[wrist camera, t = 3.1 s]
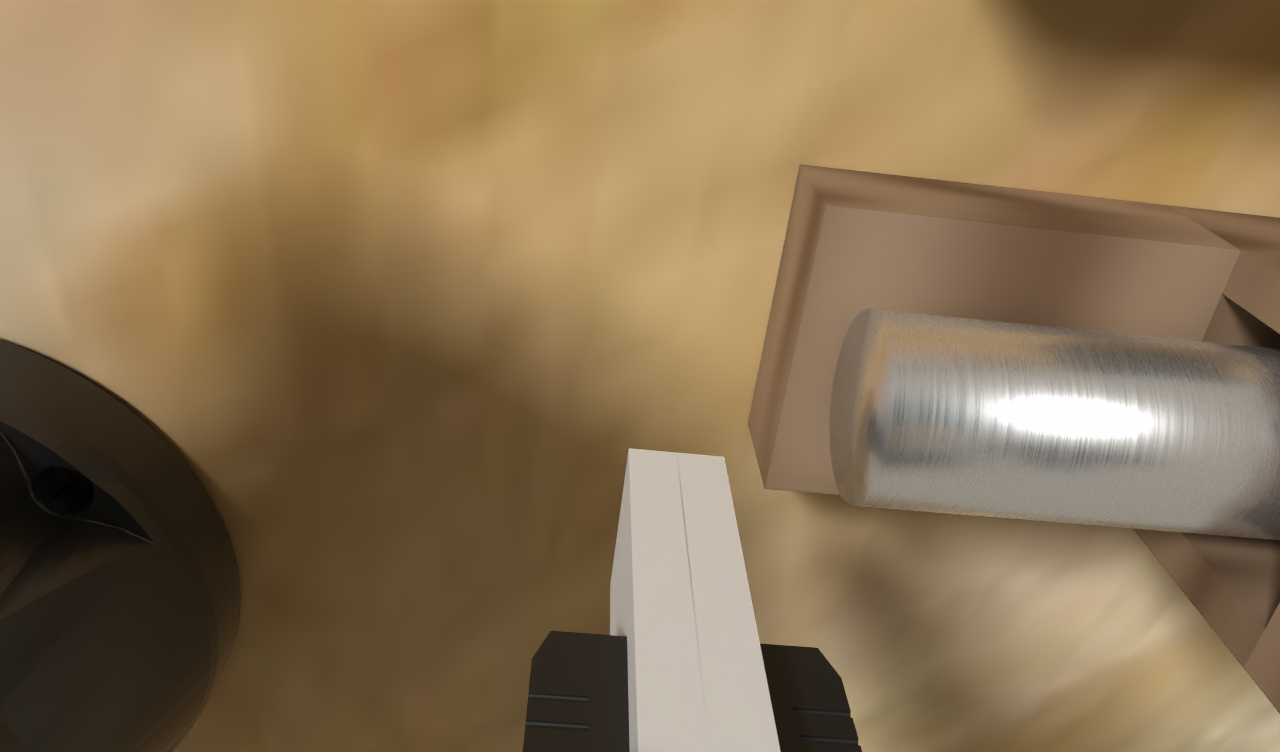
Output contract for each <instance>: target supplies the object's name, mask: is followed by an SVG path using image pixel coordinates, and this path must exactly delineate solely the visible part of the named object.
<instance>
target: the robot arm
mask: <svg viewBox="0 0 1280 752" xmlns="http://www.w3.org/2000/svg"><path fill="white" fill-rule="evenodd" d="M239 615H240V582H239V575H238V568H237V564H236V560H235V555H234V551H233V548H232V545H231V542H230V539H229V536H228V534H227V532H226V529H225V527H224V525H223V522H222V520H221V518H220V516H219V514H218V512H217V510H216V508H215V506H214V504H213V503H212V501H211V499H210V498H209V496H208V495H207V493H206V491H205V490H204V488H203V487H202V485H201V484H200V482H199V481H198V480H197V478H196V477H195V475H194V474H193V473H192V471H191V470H190V469H189V468H188V466H187V465H186V464H185V463H184V462H183V460H182V459H181V458H180V457H179V456H178V454H177V453H176V452H175V451H174V450H173V449H172V448H171V447H170V446H169V445H168V444H167V443H166V442H165V441H164V440H163V439H162V438H161V437H160V436H159V435H158V434H157V433H156V432H155V431H154V430H153V429H152V428H151V427H150V426H149V425H147V424H146V423H145V422H144V421H143V420H142V419H140V418H139V417H138V416H137V415H136V414H134V413H133V412H132V411H131V410H129V409H128V408H127V407H126V406H124V405H123V404H122V403H120V402H119V401H117V400H116V399H115V398H113V397H112V396H111V395H109V394H108V393H106V392H105V391H103V390H102V389H100V388H99V387H97V386H96V385H94V384H92V383H91V382H89V381H88V380H86V379H84V378H83V377H81V376H79V375H77V374H76V373H74V372H72V371H70V370H69V369H67V368H65V367H63V366H61V365H59V364H57V363H55V362H53V361H51V360H49V359H47V358H45V357H43V356H41V355H39V354H36V353H34V352H32V351H29V350H27V349H25V348H22V347H20V346H18V345H15V344H12V343H9V342H7V341H4V340H1V339H0V752H172V751H173V750H174V749H175V748H176V747H177V746H178V745H179V743H180V742H181V741H182V740H183V739H184V737H185V736H186V735H187V733H188V732H189V730H190V729H191V727H192V726H193V724H194V723H195V721H196V720H197V718H198V717H199V715H200V713H201V712H202V710H203V708H204V706H205V704H206V702H207V700H208V698H209V696H210V693H211V691H212V689H213V687H214V685H215V683H216V681H217V679H218V677H219V674H220V672H221V670H222V668H223V666H224V664H225V662H226V660H227V658H228V655H229V653H230V650H231V648H232V645H233V642H234V639H235V635H236V631H237V627H238V621H239ZM850 712H851V711H850V707H849V704H848V700H847V697H846V693H845V690H844V686H843V683H842V679H841V677H840V676H839V675H838V673H837V672H836V671H835V670H834V668H833V667H832V666H831V664H830V663H829V662H828V661H827V659H826V658H825V657H824V655H823V654H822V653H821V652H820V650H819V649H818V648H812V647H798V646H784V645H771V644H760V641H759V636H758V631H757V626H756V620H755V615H754V610H753V605H752V600H751V594H750V589H749V584H748V579H747V573H746V568H745V563H744V558H743V552H742V547H741V542H740V537H739V531H738V526H737V521H736V516H735V511H734V505H733V500H732V495H731V490H730V484H729V479H728V474H727V469H726V463H725V458H724V457H722V456H710V455H699V454H688V453H676V452H665V451H654V450H642V449H631V448H629V450H628V458H627V465H626V472H625V480H624V487H623V495H622V502H621V509H620V517H619V524H618V531H617V539H616V546H615V554H614V561H613V568H612V576H611V583H610V635H600V634H586V633H572V632H559V631H551V632H550V633H549V635H548V636H547V638H546V639H545V640H544V642H543V643H542V645H541V646H540V648H539V649H538V651H537V652H536V654H535V655H534V657H533V658H532V665H531V675H530V685H529V695H528V705H527V716H526V726H525V736H524V746H523V752H862V750H861V746H858V736H857V732H856V729H855V725H854V722H853V718H851V717H850Z"/></svg>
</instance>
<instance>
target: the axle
mask: <svg viewBox="0 0 1280 752" xmlns="http://www.w3.org/2000/svg"><path fill="white" fill-rule="evenodd" d="M829 431H830V454H831V463H832V469H833V474H834V479H835V482H836V485H837V488H838V491H839V493H840V495H841V497H842V498H843V500H844V501H845V502H846V503H847V504H849V505H851V506H862V507H875V508H887V509H899V510H912V511H924V512H937V513H949V514H961V515H974V516H986V517H999V518H1011V519H1023V520H1036V521H1048V522H1061V523H1073V524H1085V525H1098V526H1110V527H1123V528H1135V529H1148V530H1160V531H1172V532H1185V533H1197V534H1210V535H1222V536H1234V537H1247V538H1259V539H1272V540H1280V349H1272V348H1262V347H1252V346H1242V345H1232V344H1222V343H1211V342H1201V341H1191V340H1181V339H1171V338H1161V337H1151V336H1140V335H1130V334H1120V333H1110V332H1100V331H1090V330H1080V329H1069V328H1059V327H1049V326H1039V325H1029V324H1019V323H1009V322H999V321H988V320H978V319H968V318H958V317H948V316H938V315H928V314H917V313H907V312H897V311H887V310H877V309H866V310H864V311H862V312H861V313H860V314H858V315H857V317H856V318H855V319H854V321H853V322H852V324H851V326H850V328H849V330H848V332H847V334H846V337H845V339H844V342H843V345H842V348H841V351H840V354H839V358H838V362H837V366H836V371H835V376H834V382H833V389H832V396H831V407H830V430H829Z"/></svg>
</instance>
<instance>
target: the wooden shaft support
mask: <svg viewBox="0 0 1280 752" xmlns="http://www.w3.org/2000/svg"><path fill="white" fill-rule="evenodd" d="M866 309H877V310H887V311H897V312H907V313H917V314H928V315H938V316H948V317H958V318H968V319H978V320H988V321H999V322H1009V323H1019V324H1029V325H1039V326H1049V327H1059V328H1069V329H1080V330H1090V331H1100V332H1110V333H1120V334H1130V335H1140V336H1151V337H1161V338H1171V339H1181V340H1191V341H1201V342H1211V343H1222V344H1232V345H1242V346H1252V347H1262V348H1272V349H1280V218H1275V217H1266V216H1257V215H1248V214H1239V213H1230V212H1221V211H1212V210H1203V209H1194V208H1185V207H1176V206H1167V205H1158V204H1149V203H1140V202H1131V201H1122V200H1113V199H1104V198H1095V197H1086V196H1077V195H1068V194H1059V193H1050V192H1041V191H1032V190H1023V189H1014V188H1005V187H996V186H987V185H978V184H969V183H960V182H951V181H942V180H933V179H924V178H915V177H906V176H897V175H888V174H879V173H870V172H861V171H852V170H843V169H834V168H825V167H816V166H807V165H800V167H799V172H798V177H797V182H796V187H795V192H794V197H793V202H792V207H791V212H790V217H789V222H788V227H787V232H786V237H785V242H784V247H783V252H782V257H781V262H780V267H779V272H778V277H777V282H776V287H775V292H774V297H773V302H772V307H771V312H770V317H769V322H768V327H767V332H766V337H765V342H764V347H763V352H762V357H761V362H760V367H759V372H758V377H757V382H756V387H755V392H754V397H753V402H752V407H751V412H750V417H749V422H748V426H749V429H750V433H751V437H752V441H753V445H754V449H755V453H756V457H757V461H758V464H759V468H760V472H761V476H762V480H763V484H764V488H765V489H773V490H785V491H797V492H809V493H822V494H834V495H840V493H839V491H838V488H837V485H836V482H835V479H834V474H833V469H832V463H831V454H830V431H829V430H830V407H831V396H832V389H833V382H834V376H835V371H836V366H837V362H838V358H839V354H840V351H841V348H842V345H843V342H844V339H845V337H846V334H847V332H848V330H849V328H850V326H851V324H852V322H853V321H854V319H855V318H856V317H857V315H858V314H860V313H861V312H862V311H864V310H866ZM1133 529H1134V530H1135V531H1136V533H1137V534H1138V535H1139V536H1140V538H1141V539H1142V540H1143V541H1144V543H1145V544H1146V545H1147V546H1148V548H1149V549H1150V550H1151V552H1152V553H1153V554H1154V555H1155V557H1156V558H1157V559H1158V560H1159V562H1160V563H1161V564H1162V565H1163V567H1164V568H1165V569H1166V570H1167V572H1168V573H1169V574H1170V576H1171V577H1172V578H1173V579H1174V581H1175V582H1176V583H1177V584H1178V586H1179V587H1180V588H1181V589H1182V591H1183V592H1184V593H1185V594H1186V596H1187V597H1188V598H1189V600H1190V601H1191V602H1192V603H1193V605H1194V606H1195V607H1196V608H1197V610H1198V611H1199V612H1200V613H1201V615H1202V616H1203V617H1204V618H1205V620H1206V621H1207V622H1208V623H1209V625H1210V626H1211V627H1212V629H1213V630H1214V631H1215V632H1216V634H1217V635H1218V636H1219V637H1220V639H1221V640H1222V641H1223V642H1224V644H1225V645H1226V646H1227V647H1228V649H1229V650H1230V651H1231V653H1232V654H1233V655H1234V656H1235V658H1236V659H1237V660H1238V661H1239V663H1240V664H1241V665H1242V666H1243V668H1244V669H1245V670H1246V671H1247V673H1248V674H1249V675H1250V677H1251V678H1252V679H1253V680H1254V682H1255V683H1256V684H1257V685H1258V687H1259V688H1260V689H1261V690H1262V692H1263V693H1264V694H1265V695H1266V697H1267V698H1268V699H1269V701H1270V702H1271V703H1272V704H1273V706H1274V707H1275V708H1276V709H1277V711H1278V712H1279V713H1280V540H1272V539H1259V538H1247V537H1234V536H1222V535H1210V534H1197V533H1185V532H1172V531H1160V530H1148V529H1135V528H1133Z"/></svg>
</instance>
